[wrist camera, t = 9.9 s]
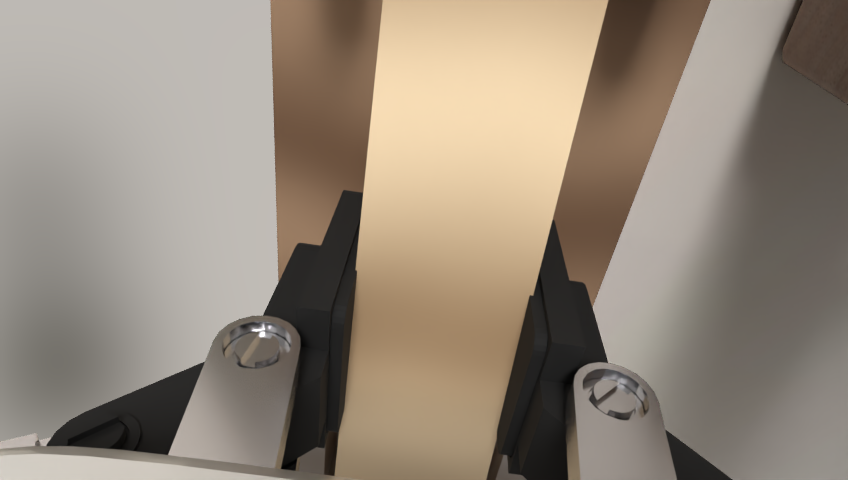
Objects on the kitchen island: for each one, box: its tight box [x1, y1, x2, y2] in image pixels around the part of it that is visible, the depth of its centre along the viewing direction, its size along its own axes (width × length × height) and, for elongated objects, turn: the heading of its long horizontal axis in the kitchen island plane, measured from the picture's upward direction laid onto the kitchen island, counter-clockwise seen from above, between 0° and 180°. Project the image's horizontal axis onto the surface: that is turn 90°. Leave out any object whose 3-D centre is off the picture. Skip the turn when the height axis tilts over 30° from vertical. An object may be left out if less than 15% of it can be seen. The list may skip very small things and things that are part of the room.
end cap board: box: [271, 0, 711, 480], centre depth 13 cm, size 24×9×4 cm, turn 173°
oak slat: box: [335, 0, 608, 480], centre depth 12 cm, size 16×3×4 cm, turn 173°
